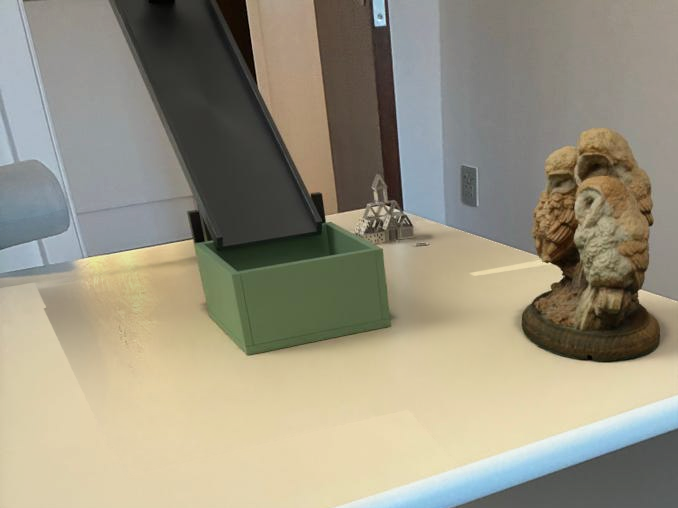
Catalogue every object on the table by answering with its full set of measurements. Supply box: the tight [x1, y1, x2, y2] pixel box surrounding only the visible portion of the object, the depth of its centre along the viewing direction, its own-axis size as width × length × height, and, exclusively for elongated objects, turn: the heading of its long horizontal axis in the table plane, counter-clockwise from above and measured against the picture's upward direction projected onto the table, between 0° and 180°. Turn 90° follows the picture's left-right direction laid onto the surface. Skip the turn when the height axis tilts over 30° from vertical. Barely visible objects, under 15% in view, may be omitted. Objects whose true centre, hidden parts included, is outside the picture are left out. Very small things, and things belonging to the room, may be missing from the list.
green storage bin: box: [193, 221, 392, 356], centre depth 95 cm, size 15×15×7 cm
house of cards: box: [352, 173, 429, 247], centre depth 120 cm, size 9×9×8 cm
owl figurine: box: [521, 126, 661, 362], centre depth 85 cm, size 18×12×17 cm, turn 21°
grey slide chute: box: [108, 0, 322, 251], centre depth 101 cm, size 11×38×5 cm
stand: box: [186, 191, 327, 309], centre depth 108 cm, size 14×21×10 cm, turn 27°
